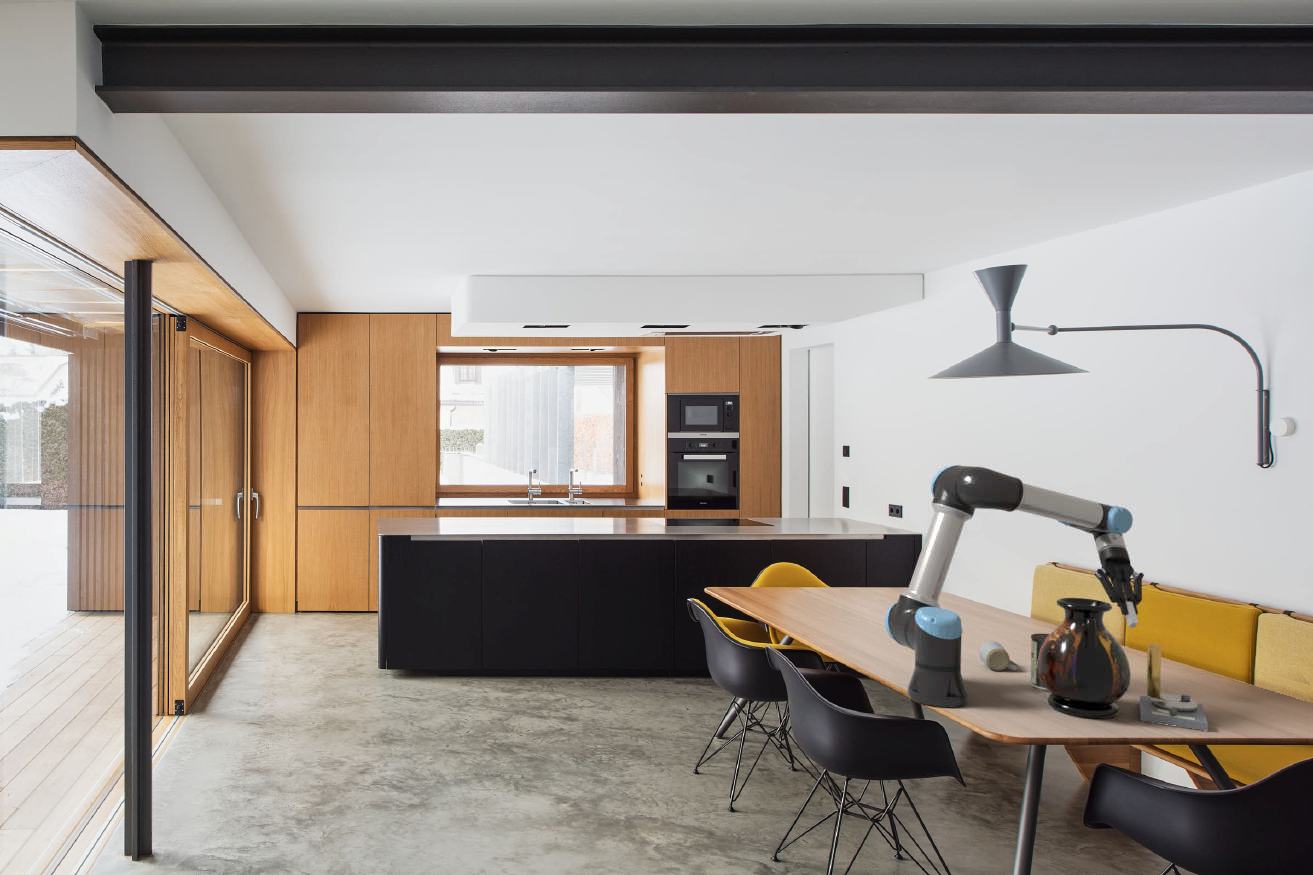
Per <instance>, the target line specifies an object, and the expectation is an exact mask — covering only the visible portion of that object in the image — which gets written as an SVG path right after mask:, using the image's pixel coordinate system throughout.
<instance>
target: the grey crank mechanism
mask: <svg viewBox="0 0 1313 875" xmlns="http://www.w3.org/2000/svg"><path fill="white" fill-rule="evenodd" d="M1203 706H1204V705H1203V704H1202V703H1198V702H1197V710H1196V711H1191V712H1184V711H1177V710H1176V709H1174V708H1171V709H1170V710H1169V709H1165V708H1161V707H1158V706H1156V705H1154V704H1152V703H1151V697H1150V696H1147V695H1143V694H1142V695H1141V694H1139V717H1140V718H1139V719H1140V720H1142V721H1141V722H1144V721H1148V722H1147V723H1150V722H1154V723H1153V724H1156V723H1161V724H1160V725H1163V724H1168V725H1167V726H1169V725H1176V726H1181V727H1180V728H1182V727H1185V728H1184V729H1188V728H1192V729H1191V730H1194V729H1199V730H1198V731H1201V730H1207V731H1208V730H1209V723H1208V719H1207V716H1206V713H1205V708H1204V707H1203ZM1207 731H1206V732H1207ZM1208 732H1209V731H1208Z"/></svg>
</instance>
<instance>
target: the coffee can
mask: <svg viewBox="0 0 1313 875" xmlns="http://www.w3.org/2000/svg"><path fill="white" fill-rule="evenodd" d="M1050 634H1051V633H1032V634H1031V635H1030V638H1031V640H1030V641H1031V643H1030V644H1031V646H1030V647H1031V648H1030V649H1031V650H1030V652H1031V654H1030V656H1031V657H1030V685H1031V686H1032V687H1033V688H1036V689H1038V690H1041V691H1045V692H1046V691H1048V690H1047V689H1046V687H1045V686H1044V685H1043V683H1042V682H1041V680H1040V677H1039V674H1038V657H1039V652H1040V649H1041V647H1042V644H1043V643H1044V641H1045V639H1046V638H1047V637H1048V635H1050ZM1048 692H1049V691H1048Z"/></svg>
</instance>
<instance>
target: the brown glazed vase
mask: <svg viewBox="0 0 1313 875" xmlns="http://www.w3.org/2000/svg"><path fill="white" fill-rule="evenodd" d="M1056 605H1057V606H1059V607H1060V608H1063V609H1064V610H1063V611H1064V614H1065V615H1064V619H1063V621H1062V622H1061V623H1060V625H1058V626H1057V627H1056V628H1055V629H1054V630H1053V631H1052V632H1051V633H1049V634H1050V635H1048V637H1047V638H1046V639H1045V641H1044V643H1043V644H1042V647H1041V649H1040V652H1039V657H1038V674H1039V677H1040V680H1041V682H1042V683H1043V685H1044V686H1045V687H1046V689H1047V690H1048V692H1049V693H1050V695H1049V696H1048V697H1047V703H1048V705H1049V706H1050V707H1051V708H1052V709H1055V710H1057V711H1058V712H1060V713H1061V712H1062V713H1064V714H1067V715H1070V716H1076V717H1080V718H1088V719H1107V718H1108V719H1109V718H1112V717H1115V716H1116V715H1118V714H1119V710H1120V709H1119V707H1118V705H1117V704H1116V703H1117V702H1118V701H1119V700H1121V698H1123V696H1124V695H1125V694H1126V692H1127V691H1128V690H1129V687H1130V685H1131V674H1132V673H1131V668H1130V663H1129V660H1128V657H1127V654H1126V652H1125V650H1124V649H1123V646H1122V645H1121V644H1120V642H1119V641H1118V640H1117V639H1116V638H1115V636H1113V635H1112V633H1111V632H1110V631H1109V630H1108V629H1107V627H1106V626H1105V624H1104V621H1103V618H1104V615H1105V614H1104V613H1106V612H1109V611H1111V610H1112V609H1113V605H1112V604H1111V603H1109V602H1106V601H1102V600H1097V599H1091V598H1081V597H1078V598H1077V597H1062V598H1059V599H1057V600H1056Z"/></svg>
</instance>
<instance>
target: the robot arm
mask: <svg viewBox="0 0 1313 875" xmlns="http://www.w3.org/2000/svg"><path fill="white" fill-rule="evenodd" d="M931 480H932V481H931V484H930V491H931V493H932V497H933V499H932V502H931V506H932V508H933V511H934V512H933V516H932V518H931V521H930V525H929V527H928V530H927V534H926V537H925V539H924V541H923V545H922V548H921V552H920V553H919V556H918V559H917V563H916V564H915V568H914V572H913V574H912V577H911V580H910V583H909V585H908V589H907V590H906V591H903V592H901V593H900V594H899V597H898V600H897V601H896V602H894V604H891V605H890V606H889V607H888V609H887V610H886V613H885V615H884V626H885V630H886V632H887V633H888V635H889V637H890V638H891V639H892V640H894V641H895V642H896V643H897V644H899V645H900V646H904V647H906V648H909V649H911V650H913V651H914V670H913V672H912V675H911V678H910V680H909V682H908V686H907V697H908V699H910V700H911V701H913V702H916V703H919V704H922V705H926V706H930V707H931V705H933V706H932V707H939V708H957V707H964V706H966V705H967V704H968V692H967V688H966V684H965V681H964V679H963V674H962V633H963V628H962V627H963V626H962V619H961V617H960V616H959V615H958V614H957V613H956V612H954V611H952V610H949V609H946V608H942V607H941V604H940V603H939V598H940V596H941V592H942V589H943V588H944V583H945V581H946V578H947V575H948V572H949V569H950V566H951V563H952V561H953V558H954V554H955V553H956V552H955V551H956V548H957V545H958V543H959V541H960V537H961V534H962V531H963V528H964V525H965V523H966V522H967V521H969V520H972V518H973V516H974V514H975V511H976V509H981V510H983V509H984V510H999V511H1005V512H1007V513H1009V512H1010V513H1011V512H1014V511H1019V512H1024V513H1028V514H1032V515H1035V516H1039V517H1044V518H1047V519H1052V520H1056V521H1057V522H1058V523H1061V524H1063V525H1064V526H1066V527H1067V526H1069V527H1071V528H1074V529H1077V530H1080V531H1083V532H1085V533H1088V534H1090V535H1092V536H1093V539H1094V542H1095V546H1096V547H1095V548H1096V550H1097V554H1098V558H1099V562H1100V565H1101V568H1098V569H1097V570H1096V571H1095V573H1094V577H1095V578H1097V580H1098V581H1099V582H1100V584H1101V586H1102V588H1103V589H1104V592H1105V593H1106V595H1107V597H1108V598H1109V601H1110V602H1111V603H1113V604H1116V606H1117V607H1118V608H1120V612H1121V614H1122V615H1123V616H1125V620H1126V624H1127V626H1128V628H1133V629H1135V628H1136V627H1137V626H1138V624H1139V620H1138V617H1137V615H1138V614H1139V610H1138V605H1139V604H1140V603H1141V602H1142V600H1143V588H1142V587H1143V581H1142V580H1143V578H1144V577H1145V573H1143V572H1139V573H1138V572H1136V571H1135V569H1134V568H1133V566H1132V565H1131V559H1130V555H1129V553H1128V550H1127V549H1128V548H1127V546H1126V545H1127V544H1126V543H1125V539H1124V536H1123V534H1126V533H1128V532H1129V531H1130V530H1131V528H1132V526H1133V520H1134V518H1133V515H1132V513H1131V512H1130V511H1129V509H1127V507H1126V508H1125V507H1122V506H1118V505H1109V504H1104V503H1100V502H1096V501H1092V500H1090V499H1085V498H1081V497H1077V496H1073V495H1070V494H1067V493H1061V492H1058V491H1055V490H1050V489H1046V488H1042V487H1039V486H1035V485H1031V484H1028V483H1024V482H1023V481H1022V479H1020V478H1019V477H1015V476H1011V475H1008V474H1005V473H1002V472H999V471H996V470H993V469H990V468H987V467H984V466H967V465H949V466H945V467H944V468H941V469H940V470H938V471H937V472H936V473H935V475H934V476H933V478H932V479H931ZM1131 577H1132V581H1133V587H1132V583H1131ZM908 695H909V696H910V697H911V698H910V697H909V696H908ZM929 704H930V705H929Z"/></svg>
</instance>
